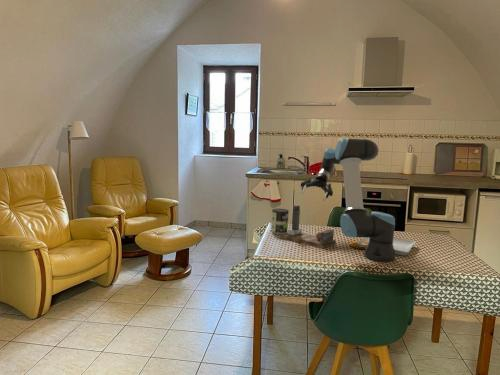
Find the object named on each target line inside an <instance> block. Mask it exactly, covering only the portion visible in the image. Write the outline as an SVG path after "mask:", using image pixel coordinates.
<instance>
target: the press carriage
mask: <svg viewBox="0 0 500 375" xmlns="http://www.w3.org/2000/svg"><path fill="white" fill-rule="evenodd" d="M300 207H301V205H293V209H292V222H291V228H288V229H287V233H288V235H292V236H295V235H298V234H301V233H303V228H302V227H300V216H301V215H300V214H301V209H300Z"/></svg>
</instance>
